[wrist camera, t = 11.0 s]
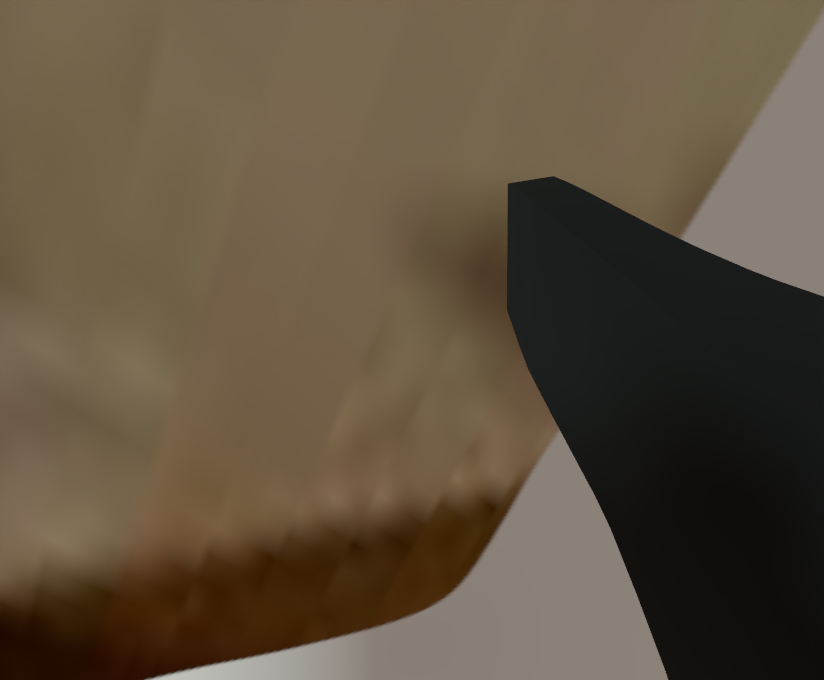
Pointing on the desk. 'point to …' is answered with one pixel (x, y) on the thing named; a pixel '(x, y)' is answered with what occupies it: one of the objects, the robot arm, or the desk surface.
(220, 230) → the desk surface
